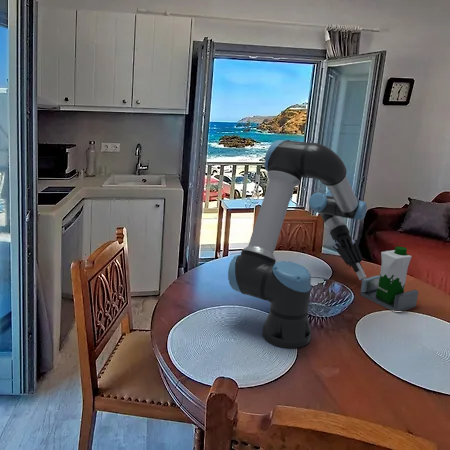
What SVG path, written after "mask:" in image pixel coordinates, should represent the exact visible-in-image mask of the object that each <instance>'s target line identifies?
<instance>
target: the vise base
mask: <svg viewBox="0 0 450 450" xmlns="http://www.w3.org/2000/svg"><path fill="white" fill-rule="evenodd" d="M376 292H377V289H375V290H372V291H368V292H362V291H360V296H361V297H363V298H365V299H367V300H369V301H371V302H373V303H375V304H377V305H379V306H381V307H384V308H385V309H387V310H389V311H391V310H394V311H402V312H405V311H408V310H411V309H414V308H416V307H417V301H418V296H419V290H416V289H413V290H408V291H404V293H401V294H398V295H395V301H394V303H387V302H386V301H384V300H382V299H380V298H378V297H377V296H376Z"/></svg>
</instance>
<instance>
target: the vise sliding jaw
mask: <svg viewBox="0 0 450 450" xmlns="http://www.w3.org/2000/svg"><path fill="white" fill-rule="evenodd" d="M379 278H380V274H378V275H373V276H370V277H366V278H364V279H362V280H361V287H360V292H368V291H372V290H375V289H377V288H378V284H379Z"/></svg>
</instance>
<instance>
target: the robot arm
mask: <svg viewBox="0 0 450 450" xmlns="http://www.w3.org/2000/svg"><path fill="white" fill-rule="evenodd" d="M263 166H264V169H265V170H266V175H267V178H268V180H269V181H268V182H267V183H268V184H267V186H266V190H265V194H264V196H263V199H262V203H261V204H260V205H261V206H260V209H259V211H258V214H257V218H256V220H255V224H254V227H253V230H252V232H251V236H250V239H249V243H248V245H247V246H246V247H244V248H242V249H241V252H240V254H238V255H234V256H233V257H232V258H233V259H231V260H230V262H229V265H228V271H227V277H228V278H227V279H228V284H229V286H230V287H231V289H232V290H234V291H236V292H237V293H238V292H239V293H241V294H242V295H247V296H251V297H253V298H257V299H260V300H262V301H267V302H269V303H270V304H269V305H270V307H269V313H268V314H267V317H266V320H264V323H263V327H262V337H263V339H264V340H265V341H267V342H268V343H270V344H272V345H274V346H276V347H280V348H283V349H298V348H302V347H305V346H307V345H308V344H309V343H310V342H311V336H312V331H311V327H310V323H309V322H310V321H309V318H308V312H309V311H308V310H309V303H310V295H311V293H310V292H311V288H312V284H311V280H312V276H311V273H310V271H309V270H308V269H307V268H306V267H305V266H304V265H301V264H299V263H297V262H293V261H286V260H280V261H277V259H276V257H275V256H274V255H275V254H274V253H275V249H276V246H277V244H278V243H277V242H278V239H279V237H280V234H281V230H282V227H283V223H284V220H285V219H286V214H287V212H288V211H287V210H288V208H289V204H290V202H291V198H292V194H293V191H294V189H295V187H297V186H299V185H300V184H301V181H302V179H303V178H304V179H305V178H306V179H314V180H317V181H319V182H320V183H321V184H322V185H324V186H326V187H327V190H328V191H329V193H330V194H327V193H325V194H324V193H322V192H314V193H313V194H312V195H310V197H309V199H308V205H309V207H310V208H311V209H312V211H314V212H316V213H317V214H319V215H320V216H321V219H322V220H323V222H324V224H325V226H326V228H327V230H328V232H329V235H330V236H331V239H332V240H333V241H334V242H335V243H334V244H333V245H332V248H333V249H334V250H335V251H336V252H337V253H338V255H339V256H340V257H341V259H342V260H343V261H344V263H345V264H346V265H347V266H348V267H352V269H353V272H354V273H355V274H356V276H357V278H358V279H359V281H362V279H365V278H367V275H366V273H365V271H364V268H363V266H362V264H361V262H362V261H363V256H362V254H361V251H360V247H359V240H358V239H353V238H352V236H351V235H350V230H349V228H348V226H347V224H346V222H345V220H344V219H351V220H356V221H357V220H358V221H359V220H360V221H362V220H363V219H365V217H366V214H367V209H368V204H367V202H365V201H362V200H359V199H358V198H357V196H356V195H355V193H354V191H353V190H354V189H353V188H352V185H351V183H350V181H349V179H348V177H347V171H348V170H347V167H346V165H345V162H344V161H343V160H342V159H341V157H340V156H339V155H338V154H337V153H336V152H335V151H334V150H332V149H331V148H329V147H328V146H327V145H324V144H321V143H319V142H307V141H298V140H297V141H296V140H290V139H285V140H281V139H278V140H276V141H274V142H273V143H271V144H270V145H269V147H268V148H267V151H266V153H265V156H264V165H263ZM343 218H344V219H343Z"/></svg>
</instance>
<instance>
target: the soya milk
mask: <svg viewBox="0 0 450 450" xmlns="http://www.w3.org/2000/svg"><path fill="white" fill-rule="evenodd" d="M407 251H408V248H407V247H405V246H395V249H393V250H385V251H381V252H380V256H381V257H380V258H381V266H380V271H379V272H380V273H379V275H380V278H379V284H378V288H377V292H376V296H377V297H378V298H380V299H382V300H384V301H386V302H387V303H394V301H395V295H398V294H401V293H404V292H405V286H406V281H407V274H408V268H409V265H410V263H411V259H412V255H410V254H408V253H407Z"/></svg>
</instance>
